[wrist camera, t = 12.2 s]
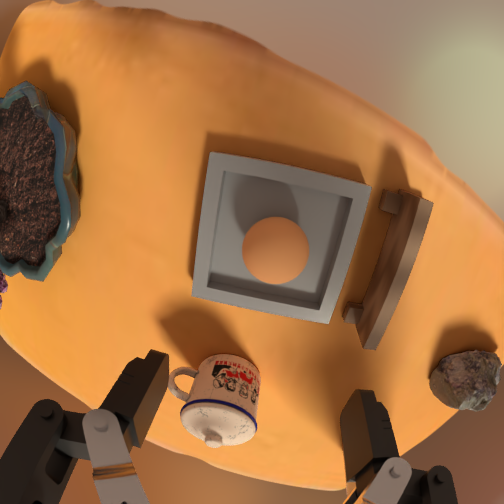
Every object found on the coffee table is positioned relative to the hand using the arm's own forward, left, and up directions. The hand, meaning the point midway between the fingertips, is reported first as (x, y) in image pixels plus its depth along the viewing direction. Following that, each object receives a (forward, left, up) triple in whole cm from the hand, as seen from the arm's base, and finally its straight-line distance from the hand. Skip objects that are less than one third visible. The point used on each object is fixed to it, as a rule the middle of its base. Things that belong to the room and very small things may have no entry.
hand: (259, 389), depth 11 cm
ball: (0, 0, -16) cm, 16 cm away
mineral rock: (-28, -23, -20) cm, 42 cm away
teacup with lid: (-16, +12, -20) cm, 28 cm away
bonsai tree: (+16, +31, -20) cm, 40 cm away
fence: (-6, -11, -20) cm, 23 cm away
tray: (0, 0, -20) cm, 20 cm away
